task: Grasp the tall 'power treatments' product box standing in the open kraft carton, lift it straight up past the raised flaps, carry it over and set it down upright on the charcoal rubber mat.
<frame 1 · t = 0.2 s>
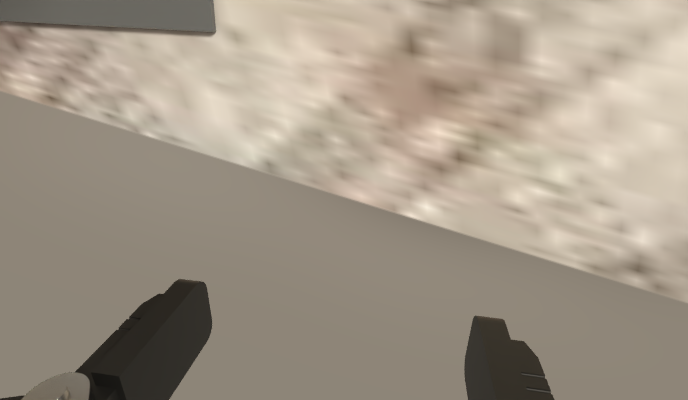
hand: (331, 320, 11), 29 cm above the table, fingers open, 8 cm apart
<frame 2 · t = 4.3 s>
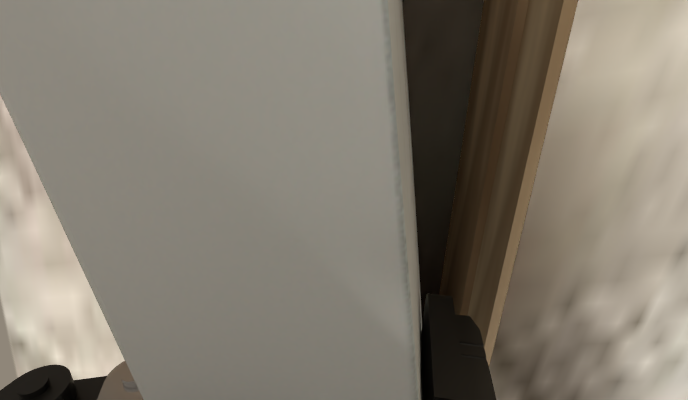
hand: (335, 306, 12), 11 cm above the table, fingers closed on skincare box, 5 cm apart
carton: (372, 186, 21), on the table
skincare box: (363, 182, 21), resting in carton, touching gripper
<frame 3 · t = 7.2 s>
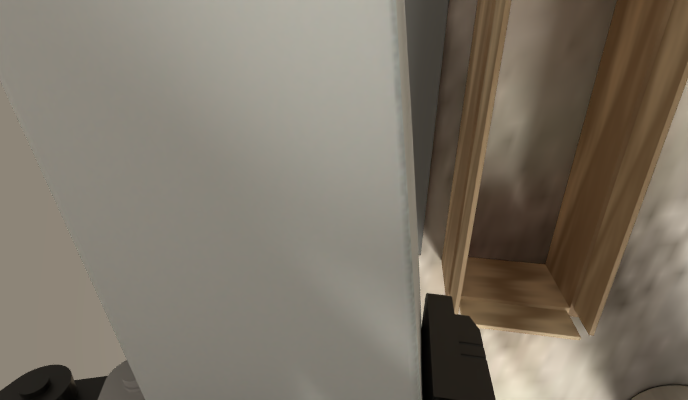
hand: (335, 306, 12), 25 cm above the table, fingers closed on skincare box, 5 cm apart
carton: (522, 136, 33), on the table
mat: (383, 129, 34), on the table
skincare box: (364, 181, 21), point 14 cm above the table, touching gripper
when the fingers open (12 cm above the table, at t = 10.0 s): skincare box drops 1 cm, resting on mat.
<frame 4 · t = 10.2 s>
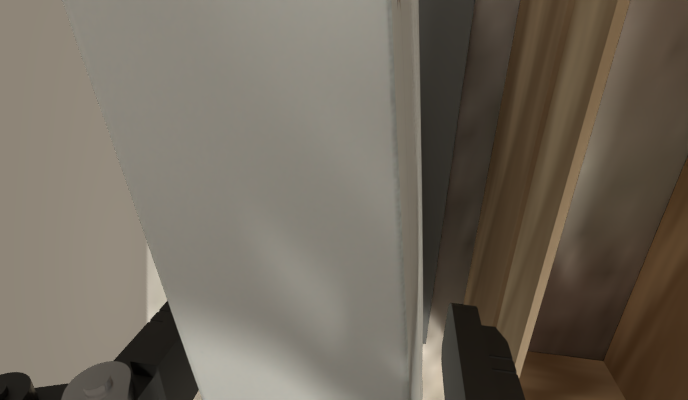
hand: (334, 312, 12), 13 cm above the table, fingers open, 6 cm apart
carton: (584, 187, 21), on the table
mat: (372, 171, 23), on the table
skincare box: (374, 175, 23), resting on mat
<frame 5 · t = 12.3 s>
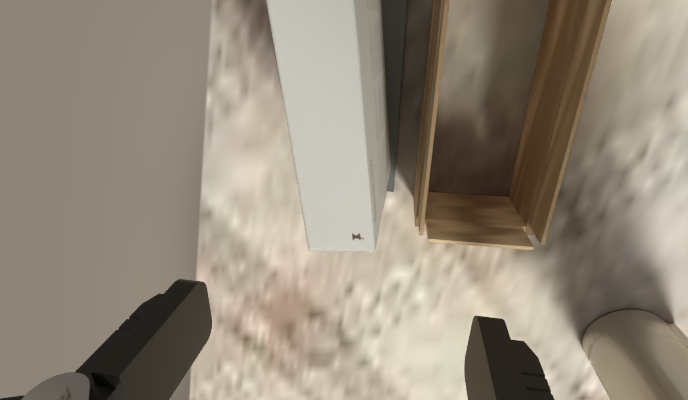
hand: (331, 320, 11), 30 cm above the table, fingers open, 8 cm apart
carton: (483, 71, 35), on the table
mat: (355, 67, 37), on the table
skincare box: (356, 68, 36), resting on mat
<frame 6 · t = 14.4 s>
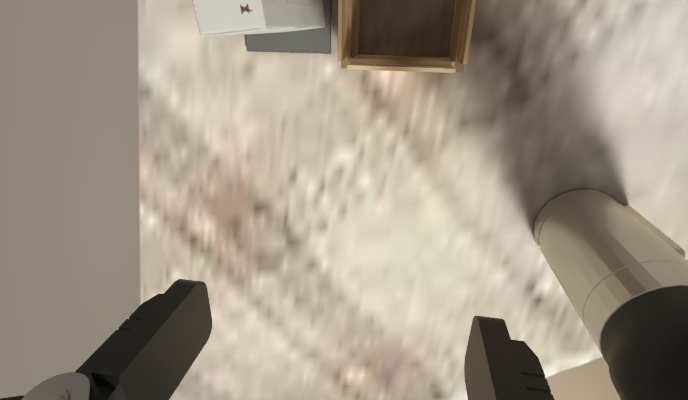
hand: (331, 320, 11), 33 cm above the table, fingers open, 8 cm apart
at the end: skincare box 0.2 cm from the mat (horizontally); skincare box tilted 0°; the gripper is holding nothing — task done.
